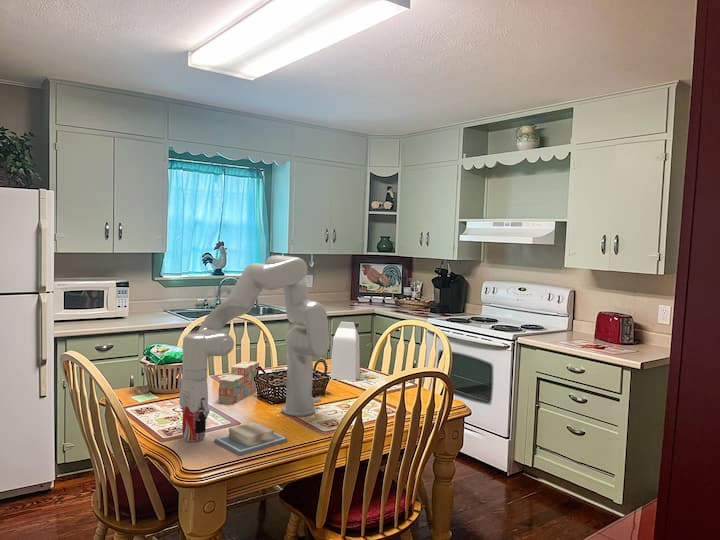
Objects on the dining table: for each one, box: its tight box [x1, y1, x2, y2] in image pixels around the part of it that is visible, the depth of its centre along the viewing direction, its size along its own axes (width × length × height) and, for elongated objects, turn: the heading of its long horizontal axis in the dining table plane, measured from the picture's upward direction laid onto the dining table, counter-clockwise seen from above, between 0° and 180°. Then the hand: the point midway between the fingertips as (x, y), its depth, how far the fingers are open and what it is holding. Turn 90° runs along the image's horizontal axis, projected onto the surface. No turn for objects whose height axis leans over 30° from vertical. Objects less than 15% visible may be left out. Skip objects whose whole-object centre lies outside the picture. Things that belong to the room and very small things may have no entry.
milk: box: [329, 321, 361, 381], centre depth 260 cm, size 12×12×26 cm
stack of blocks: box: [217, 360, 260, 405], centre depth 224 cm, size 21×6×12 cm, turn 163°
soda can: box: [181, 403, 207, 443], centre depth 177 cm, size 7×7×12 cm
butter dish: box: [213, 421, 289, 456], centre depth 177 cm, size 18×14×4 cm
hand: (194, 428), depth 177 cm, fingers closed on soda can, 7 cm apart
